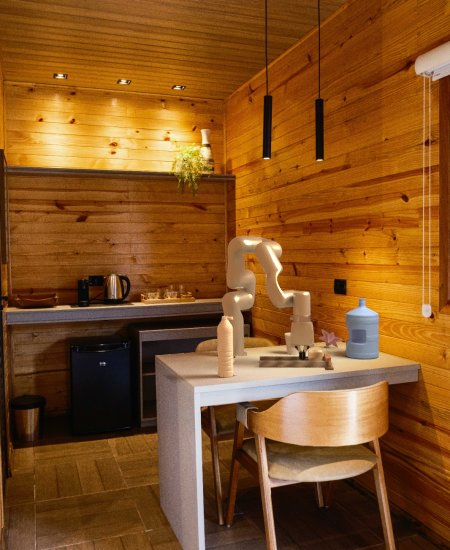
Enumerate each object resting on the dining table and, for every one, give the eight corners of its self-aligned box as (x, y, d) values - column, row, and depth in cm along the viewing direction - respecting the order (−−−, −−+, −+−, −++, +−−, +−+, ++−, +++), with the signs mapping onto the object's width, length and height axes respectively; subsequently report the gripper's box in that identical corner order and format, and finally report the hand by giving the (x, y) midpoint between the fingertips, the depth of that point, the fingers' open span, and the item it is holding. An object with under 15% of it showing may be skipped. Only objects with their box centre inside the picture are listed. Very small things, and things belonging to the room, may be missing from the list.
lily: (344, 351, 290) (346, 334, 294) (327, 344, 285) (329, 327, 289) (329, 355, 300) (331, 338, 304) (312, 348, 295) (314, 331, 299)
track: (259, 369, 245) (259, 358, 244) (259, 363, 259) (259, 352, 258) (333, 369, 242) (333, 358, 242) (330, 363, 256) (330, 352, 256)
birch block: (308, 365, 246) (308, 352, 246) (308, 363, 252) (308, 349, 252) (322, 365, 246) (322, 352, 245) (321, 363, 252) (321, 349, 251)
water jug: (367, 352, 281) (367, 296, 280) (385, 358, 266) (385, 299, 265) (339, 354, 276) (339, 298, 275) (356, 360, 261) (356, 300, 260)
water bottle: (215, 375, 235) (214, 315, 234) (228, 373, 238) (227, 314, 237) (225, 379, 227) (224, 318, 226) (239, 377, 231) (238, 316, 229)
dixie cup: (303, 352, 283) (303, 333, 282) (298, 355, 275) (297, 335, 275) (288, 351, 287) (287, 332, 286) (282, 354, 279) (281, 334, 279)
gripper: (285, 320, 246) (285, 362, 247) (319, 320, 244) (320, 362, 245) (284, 318, 253) (285, 358, 254) (318, 318, 252) (318, 358, 253)
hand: (302, 360), depth 250 cm, fingers closed
